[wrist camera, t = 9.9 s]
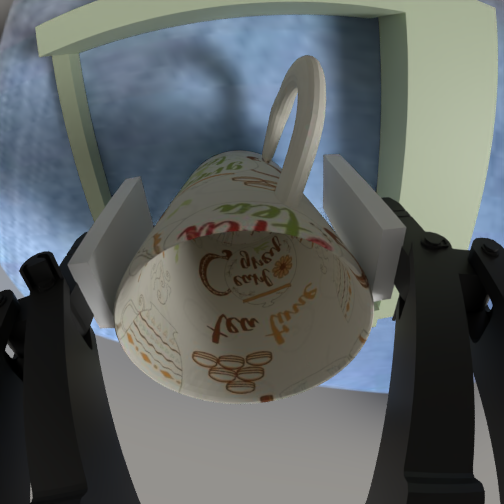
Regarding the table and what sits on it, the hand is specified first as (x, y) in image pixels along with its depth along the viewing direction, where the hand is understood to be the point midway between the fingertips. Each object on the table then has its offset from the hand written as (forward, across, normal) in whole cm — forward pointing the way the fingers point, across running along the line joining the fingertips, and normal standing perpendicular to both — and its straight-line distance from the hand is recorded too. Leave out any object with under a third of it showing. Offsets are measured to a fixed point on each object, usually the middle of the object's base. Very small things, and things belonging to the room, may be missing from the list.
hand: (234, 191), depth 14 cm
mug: (+3, +1, 0) cm, 3 cm away
